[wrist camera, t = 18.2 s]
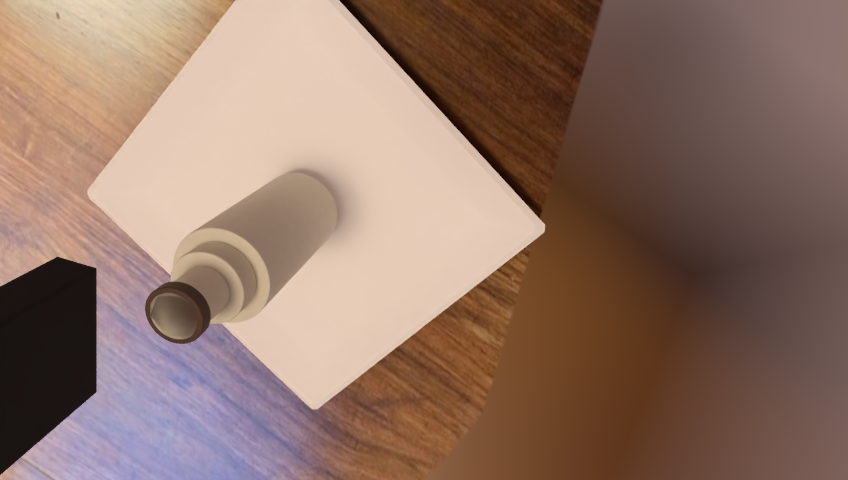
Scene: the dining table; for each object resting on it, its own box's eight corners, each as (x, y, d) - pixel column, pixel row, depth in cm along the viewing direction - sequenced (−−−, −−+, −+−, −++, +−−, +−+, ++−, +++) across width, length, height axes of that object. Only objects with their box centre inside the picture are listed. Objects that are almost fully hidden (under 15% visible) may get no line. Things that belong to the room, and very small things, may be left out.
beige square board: (293, -59, 41) (281, -62, 39) (548, 220, 45) (548, 230, 43) (100, 187, 51) (82, 194, 49) (321, 399, 55) (313, 413, 53)
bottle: (343, 184, 45) (234, 281, 29) (330, 256, 47) (224, 381, 32) (266, 163, 45) (120, 247, 30) (258, 236, 48) (118, 348, 32)
